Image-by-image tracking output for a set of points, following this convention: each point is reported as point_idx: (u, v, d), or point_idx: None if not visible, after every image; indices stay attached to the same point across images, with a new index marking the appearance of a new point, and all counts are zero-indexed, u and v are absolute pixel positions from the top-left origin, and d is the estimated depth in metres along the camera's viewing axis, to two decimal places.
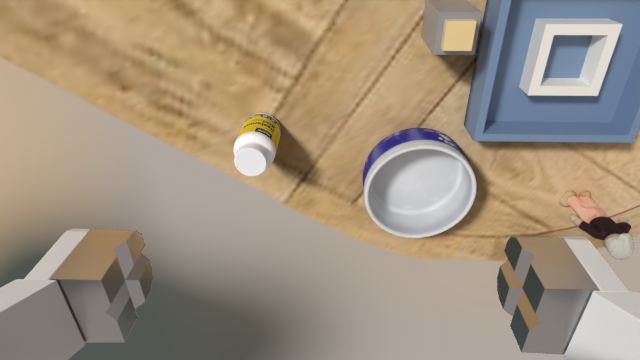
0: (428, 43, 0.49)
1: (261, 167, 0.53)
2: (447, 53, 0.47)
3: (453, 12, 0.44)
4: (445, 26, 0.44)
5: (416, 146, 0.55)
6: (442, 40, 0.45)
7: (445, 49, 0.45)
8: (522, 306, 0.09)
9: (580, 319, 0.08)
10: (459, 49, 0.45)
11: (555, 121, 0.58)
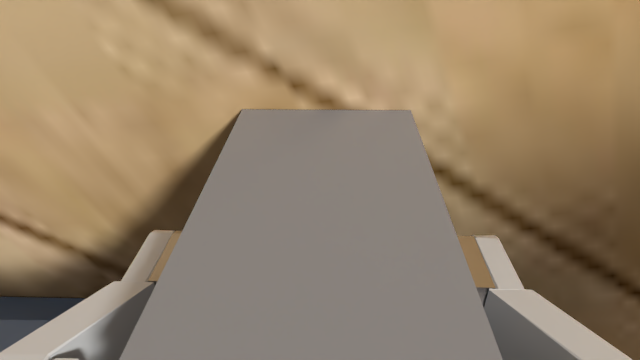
0: (211, 219, 0.07)
1: None
2: None
3: None
4: None
5: None
6: None
7: None
8: None
9: None
10: None
11: None
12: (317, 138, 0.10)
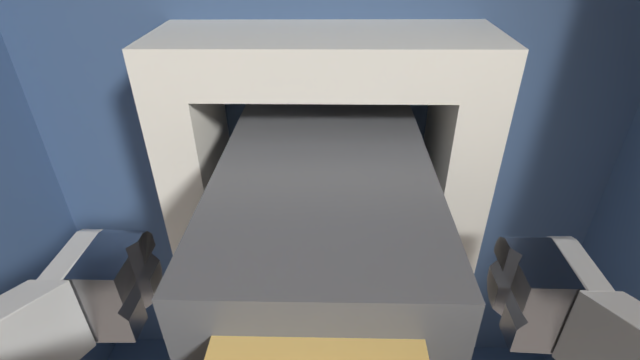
0: (231, 176, 0.08)
1: None
2: None
3: None
4: None
5: None
6: None
7: None
8: (510, 306, 0.09)
9: (568, 318, 0.08)
10: None
11: (65, 198, 0.15)
12: (320, 113, 0.11)
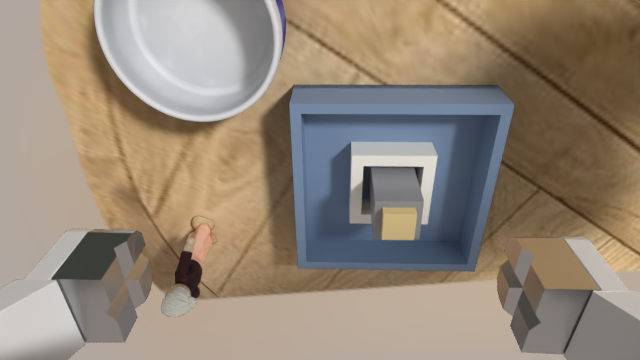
0: (377, 182, 0.42)
1: None
2: (376, 214, 0.40)
3: (421, 214, 0.40)
4: (410, 213, 0.39)
5: (277, 19, 0.34)
6: (393, 210, 0.39)
7: (384, 216, 0.39)
8: (522, 306, 0.09)
9: (580, 319, 0.08)
10: (383, 229, 0.40)
11: (307, 188, 0.48)
12: (390, 166, 0.44)
